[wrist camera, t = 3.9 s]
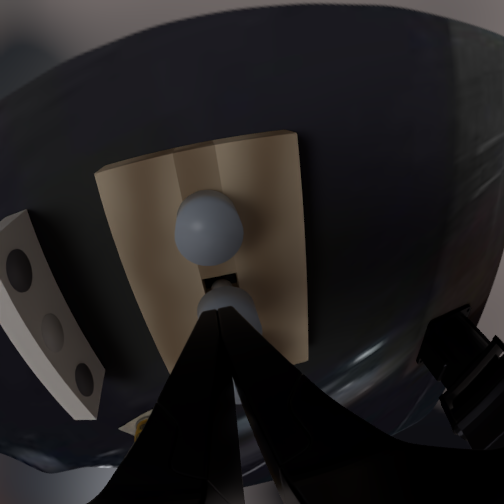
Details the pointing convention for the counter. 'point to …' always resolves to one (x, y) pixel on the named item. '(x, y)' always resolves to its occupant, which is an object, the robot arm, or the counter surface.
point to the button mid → (230, 301)
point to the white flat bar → (45, 322)
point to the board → (247, 257)
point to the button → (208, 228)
